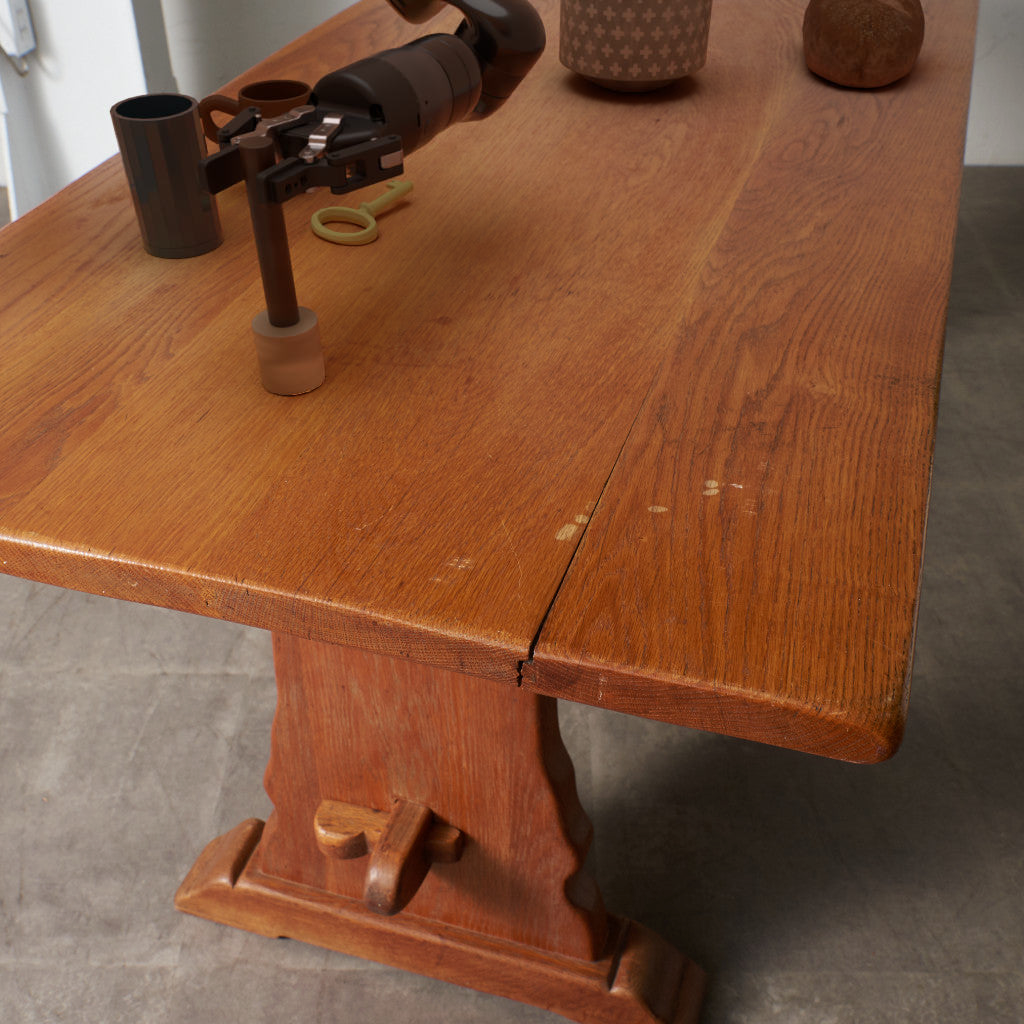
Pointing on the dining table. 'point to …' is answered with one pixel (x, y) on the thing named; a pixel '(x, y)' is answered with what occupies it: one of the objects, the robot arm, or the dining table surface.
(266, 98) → the mug
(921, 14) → the bread
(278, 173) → the robot arm
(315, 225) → the key
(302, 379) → the brush
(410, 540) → the dining table surface
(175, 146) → the cup
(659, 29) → the planter
